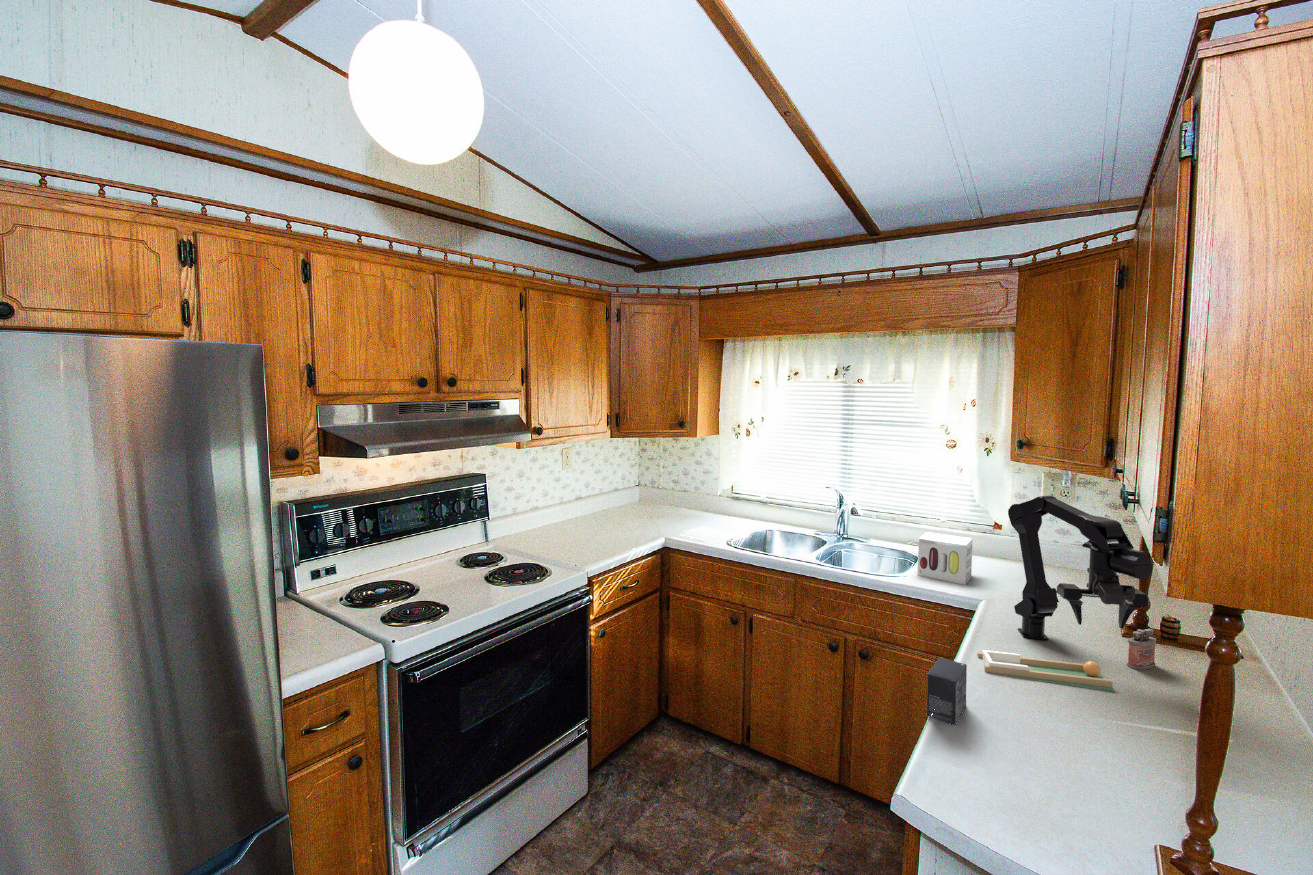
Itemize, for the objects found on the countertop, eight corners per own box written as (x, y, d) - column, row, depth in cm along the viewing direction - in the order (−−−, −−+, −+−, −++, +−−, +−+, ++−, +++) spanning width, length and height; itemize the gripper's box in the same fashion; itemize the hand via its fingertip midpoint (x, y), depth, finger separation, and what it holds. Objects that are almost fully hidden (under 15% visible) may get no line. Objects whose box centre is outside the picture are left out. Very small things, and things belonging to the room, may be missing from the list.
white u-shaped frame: (981, 658, 160) (982, 649, 159) (1019, 662, 157) (1019, 653, 157) (989, 671, 152) (989, 662, 152) (1028, 676, 149) (1028, 666, 149)
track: (976, 657, 161) (976, 650, 161) (1095, 671, 153) (1095, 663, 153) (986, 675, 151) (986, 668, 151) (1114, 691, 143) (1114, 683, 142)
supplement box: (916, 583, 226) (917, 537, 225) (924, 575, 237) (925, 531, 236) (965, 592, 216) (967, 544, 215) (972, 583, 226) (973, 537, 225)
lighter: (1136, 671, 153) (1138, 634, 153) (1123, 665, 156) (1124, 629, 156) (1158, 667, 155) (1160, 630, 155) (1145, 661, 159) (1147, 626, 158)
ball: (1078, 661, 151) (1087, 659, 152) (1081, 676, 150) (1091, 674, 151) (1092, 662, 148) (1101, 661, 149) (1095, 677, 147) (1105, 676, 148)
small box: (936, 698, 140) (938, 656, 139) (966, 707, 136) (968, 663, 135) (924, 717, 132) (925, 672, 131) (956, 727, 128) (957, 681, 127)
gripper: (1073, 573, 147) (1070, 633, 148) (1162, 580, 141) (1159, 642, 143) (1057, 561, 158) (1054, 618, 159) (1139, 567, 152) (1136, 625, 153)
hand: (1100, 626), depth 153 cm, fingers open, 9 cm apart
